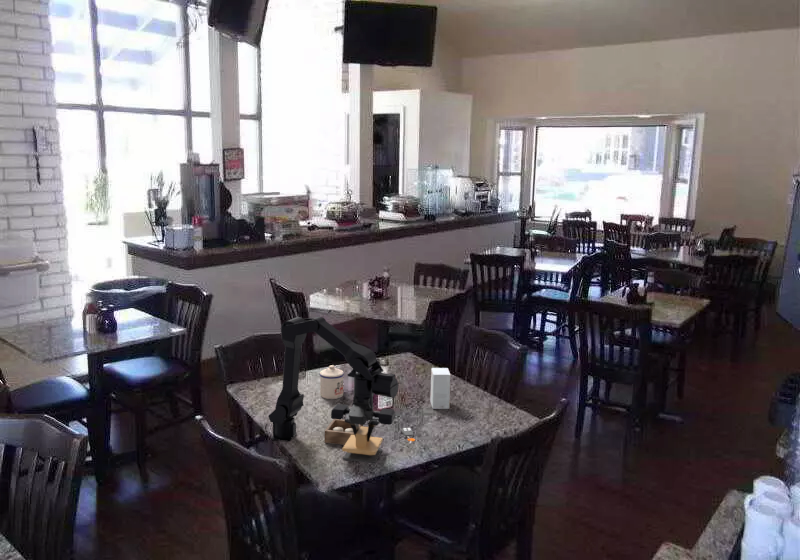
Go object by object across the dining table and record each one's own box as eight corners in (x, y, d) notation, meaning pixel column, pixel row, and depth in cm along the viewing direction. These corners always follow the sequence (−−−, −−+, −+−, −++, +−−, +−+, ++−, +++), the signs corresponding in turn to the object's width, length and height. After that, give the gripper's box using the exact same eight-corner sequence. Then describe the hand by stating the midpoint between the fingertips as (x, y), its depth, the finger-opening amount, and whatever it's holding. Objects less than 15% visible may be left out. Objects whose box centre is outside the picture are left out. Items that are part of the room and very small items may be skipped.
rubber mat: (343, 459, 202) (343, 457, 202) (351, 446, 211) (351, 445, 210) (375, 463, 200) (375, 461, 200) (382, 450, 209) (382, 448, 209)
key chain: (400, 431, 224) (400, 427, 224) (410, 430, 225) (411, 426, 225) (408, 448, 212) (409, 443, 211) (420, 447, 213) (420, 443, 212)
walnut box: (324, 442, 213) (324, 430, 212) (333, 430, 223) (333, 418, 222) (355, 445, 211) (355, 433, 211) (363, 433, 221) (363, 421, 220)
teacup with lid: (338, 401, 249) (338, 370, 247) (315, 398, 251) (315, 368, 249) (350, 390, 260) (350, 361, 258) (328, 387, 263) (328, 358, 260)
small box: (449, 409, 243) (450, 374, 241) (432, 409, 243) (433, 374, 240) (446, 401, 251) (448, 367, 249) (430, 401, 251) (431, 367, 248)
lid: (342, 453, 201) (342, 435, 200) (351, 439, 211) (351, 422, 210) (374, 457, 199) (375, 439, 198) (382, 443, 209) (382, 425, 208)
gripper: (325, 398, 195) (325, 448, 198) (388, 404, 192) (387, 455, 195) (336, 385, 206) (336, 433, 209) (396, 391, 203) (395, 439, 206)
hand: (362, 440), depth 204 cm, fingers closed on lid, 3 cm apart
